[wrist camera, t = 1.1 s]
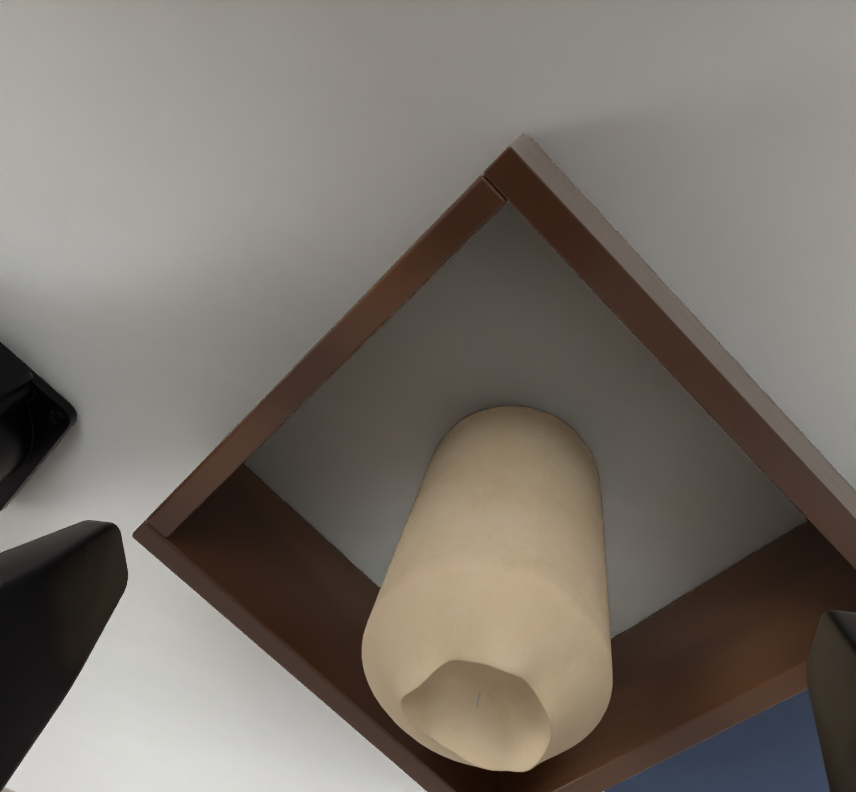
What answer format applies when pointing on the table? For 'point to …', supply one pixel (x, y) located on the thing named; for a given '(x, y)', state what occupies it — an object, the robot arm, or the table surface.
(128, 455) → the table surface
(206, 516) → the crate
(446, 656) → the candle
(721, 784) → the mat
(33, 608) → the robot arm
